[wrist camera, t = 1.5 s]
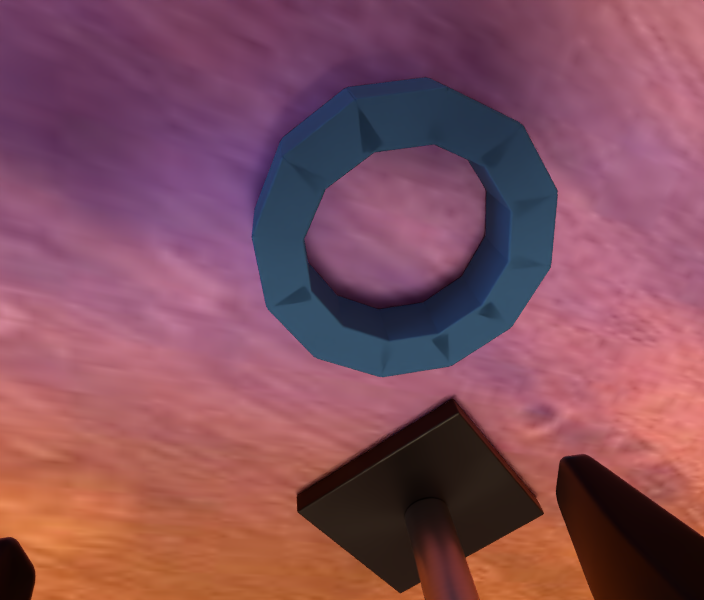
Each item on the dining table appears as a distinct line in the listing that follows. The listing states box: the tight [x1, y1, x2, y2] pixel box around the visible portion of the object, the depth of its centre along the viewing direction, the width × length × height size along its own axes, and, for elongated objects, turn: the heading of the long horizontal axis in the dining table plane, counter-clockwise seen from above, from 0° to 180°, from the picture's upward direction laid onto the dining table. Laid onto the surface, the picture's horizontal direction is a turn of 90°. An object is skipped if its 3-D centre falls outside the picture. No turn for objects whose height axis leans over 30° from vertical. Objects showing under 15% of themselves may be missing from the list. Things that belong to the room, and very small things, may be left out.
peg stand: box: [297, 399, 544, 600], centre depth 24 cm, size 9×9×8 cm
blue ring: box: [252, 77, 558, 377], centre depth 19 cm, size 10×10×2 cm
